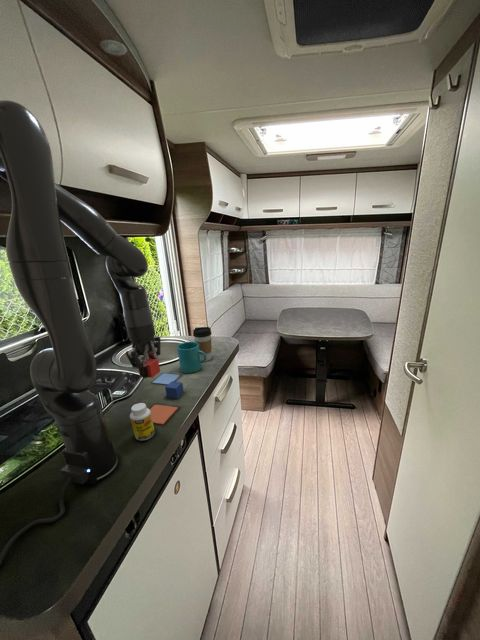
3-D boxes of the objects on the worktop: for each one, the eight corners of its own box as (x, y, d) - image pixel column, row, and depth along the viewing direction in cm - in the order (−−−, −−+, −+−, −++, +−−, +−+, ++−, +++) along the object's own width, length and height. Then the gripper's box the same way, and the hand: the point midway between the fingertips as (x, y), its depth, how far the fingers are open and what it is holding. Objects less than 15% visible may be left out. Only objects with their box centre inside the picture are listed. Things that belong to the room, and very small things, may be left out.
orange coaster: (163, 424, 87) (163, 423, 87) (138, 420, 90) (138, 419, 89) (178, 408, 95) (177, 407, 95) (155, 405, 97) (155, 404, 97)
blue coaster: (170, 385, 110) (169, 384, 110) (152, 383, 112) (152, 382, 112) (180, 375, 117) (180, 374, 117) (163, 374, 119) (163, 373, 119)
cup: (205, 373, 118) (202, 349, 114) (177, 373, 119) (173, 349, 115) (210, 364, 126) (207, 341, 122) (184, 364, 127) (181, 341, 123)
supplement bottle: (137, 444, 80) (129, 414, 75) (133, 433, 84) (126, 405, 80) (157, 436, 82) (150, 407, 78) (152, 426, 87) (146, 399, 83)
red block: (152, 377, 86) (149, 365, 84) (139, 376, 87) (137, 363, 85) (160, 371, 90) (158, 359, 88) (148, 370, 91) (146, 358, 89)
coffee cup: (212, 362, 128) (209, 331, 123) (194, 362, 129) (190, 332, 123) (215, 354, 136) (212, 325, 130) (198, 355, 136) (194, 326, 130)
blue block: (177, 398, 101) (175, 388, 99) (166, 397, 102) (164, 387, 100) (183, 392, 105) (182, 382, 103) (173, 391, 106) (171, 381, 104)
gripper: (143, 314, 89) (153, 362, 95) (110, 328, 76) (124, 383, 83) (164, 315, 87) (172, 364, 94) (134, 330, 74) (146, 385, 81)
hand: (150, 373), depth 88 cm, fingers closed on red block, 4 cm apart
